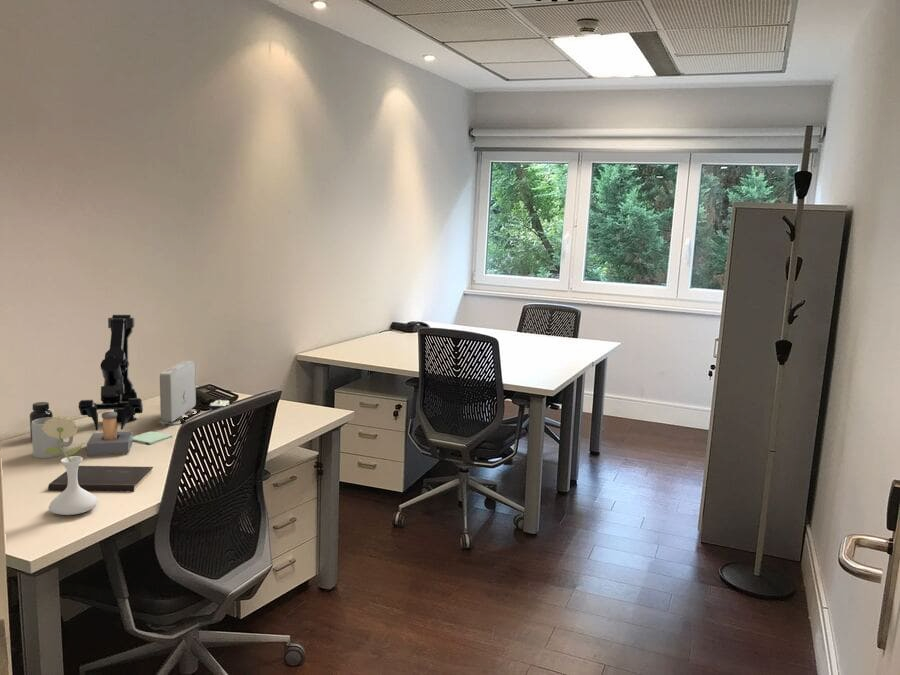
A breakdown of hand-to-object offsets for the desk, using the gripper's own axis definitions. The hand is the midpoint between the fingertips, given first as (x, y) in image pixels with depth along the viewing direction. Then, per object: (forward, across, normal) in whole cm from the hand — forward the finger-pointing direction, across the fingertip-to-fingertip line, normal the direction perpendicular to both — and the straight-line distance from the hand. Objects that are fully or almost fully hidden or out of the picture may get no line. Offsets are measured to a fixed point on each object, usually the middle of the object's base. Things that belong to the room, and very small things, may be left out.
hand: (109, 429), depth 234 cm
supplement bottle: (-8, -24, +18) cm, 31 cm away
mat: (-3, +11, +13) cm, 18 cm away
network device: (-21, +19, +32) cm, 42 cm away
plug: (+4, 0, +6) cm, 7 cm away
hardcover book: (+26, +2, -15) cm, 30 cm away
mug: (+6, -16, +5) cm, 18 cm away
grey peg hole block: (+4, 0, +6) cm, 7 cm away
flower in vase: (+41, -2, -30) cm, 51 cm away
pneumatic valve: (-5, +34, +16) cm, 38 cm away
